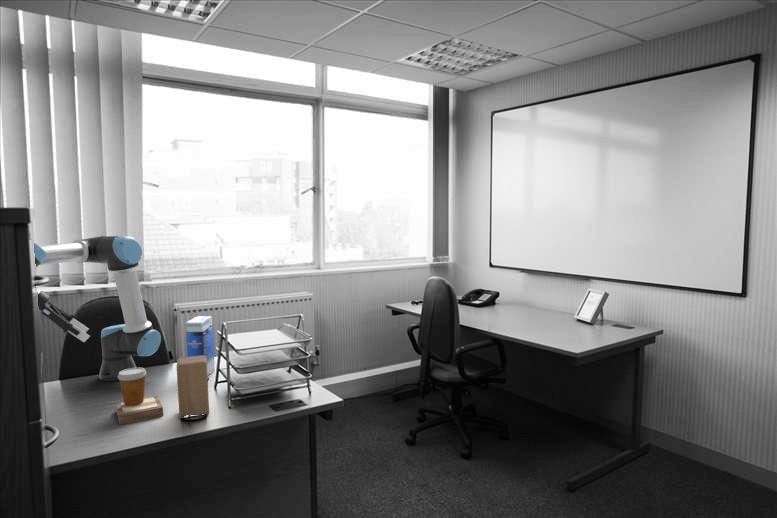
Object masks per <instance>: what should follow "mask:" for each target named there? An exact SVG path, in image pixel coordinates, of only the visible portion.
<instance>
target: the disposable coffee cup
mask: <svg viewBox="0 0 777 518" xmlns="http://www.w3.org/2000/svg"><path fill="white" fill-rule="evenodd" d="M146 377H147V371H146V369H145V368H144V367H137V368H129V369H125V370H122V371H120V372H119V375H118V378H119V380H118V381H119V384H120V389H121V393H122V399H123V402H124V404H125V405H126V406H133V405H138V404H141V403H142V402H143V401H144V398H145V386H146V385H145V384H146Z"/></svg>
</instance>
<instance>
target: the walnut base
mask: <svg viewBox="0 0 777 518" xmlns="http://www.w3.org/2000/svg"><path fill="white" fill-rule="evenodd" d="M115 405H116V406H115V409H116V411H115V412H116V415H117V418H118V422H119V423H118V424H119V425H125V424H130V423H134V422H138V421H142V420H147V419H148V420H149V419H152V417H153V418H157V417H162V416H164V407H163V405H162V403H161V400H160V399H159V396H158V395H155V396H149V397H144V401H143V402H142V403H141V404H138V405H133V406H126V405H125V404H124V401H122V402H118V403H115Z"/></svg>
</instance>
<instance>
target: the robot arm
mask: <svg viewBox="0 0 777 518" xmlns="http://www.w3.org/2000/svg"><path fill="white" fill-rule="evenodd" d="M33 243H34V253H35V264H36V268H37V267H39V266H44V265H45V266H46V265H54V264H62V263H69V262H70V263H72V262H76V263H78V264H83V263H92V264H93V263H94V264H105V265H107V269H108V271H109V272H111V273H112V274H113V278H114V282H115V286H116V290H117V294H118V298H119V303H120V307H121V311H122V316H123V321H124V323H123V324H115V325H111V326H108V327H104V328H102V330H101V331H100V342H101V343H100V344H101V353H102V354H101V355H102V363H101V366H100V369H99V370H100V371H99V373H98V374H99V376H98V377H99V378H98V379H99V380H100V381H103V382H115V381H120V380H119V378H118V375H119V372H120V371H122V370H125V369H129V368H138V367H137V366H136V364H135V363H136V362H135V361H134V359H133V356H139V357H150V356H152V355H153V354H155V353H156V352H157V351H158V349H159V347H160V345H161V342H162V339H161V338H162V337H161V333H160V331H158V330H157V329H153V328H154V327H153V324H152V322H151V321H150V320H148V318H147V314H146V308H145V305H144V300H143V297H142V292H141V286H140V282H139V278H138V273H137V268H138V267H139V262H140V261H141V259H142V256H143V250H142V245H141V243H140V242H139V241H138V240H137V239H135V238H134V237H132V236H128V235H127V236H126V235H109V236H108V235H107V236H105V235H101V236H94V237H90V238H83V239H75V240H74V241H72V242H69V243H68V242H66V243H64V242H63V243H52V244H42V245H41V244H40V245H39V244H38V243H35V242H33ZM49 300H51V296H50V294H48V293H47V292H45V291H42V290H40V288H39V287H38V306H39V310H40V311H41V315H43V316H44V317H46V318H47V319H49V320H50V321H51V322H52V323H54V324H55V325H57V326H58V327H59V328H60V329H62V330H63V333H65V334H66V333H69V334H71V335H72V336H73V337H75V338H76V339H78V340H80V341H81V342H83V343H85V342H87V340H88V339H89V338H90V337H91V335H89V334H88V333H87V332H88V331H89V330H90V328H88V327H87V326H86V325H85V324H83V323H82V322H80V321H78V320H77V319H75V318H74V317H75V315H73V314H69V313H67V312H66V311H64V310H62V309H61V308H59V307H57V306H56V305H55V304H53V303H51V302H50V301H49ZM39 310H38V311H39Z"/></svg>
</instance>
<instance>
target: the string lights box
mask: <svg viewBox="0 0 777 518" xmlns="http://www.w3.org/2000/svg"><path fill="white" fill-rule="evenodd" d="M213 329H214V328H213V316H212V315H207V316H206V315H204V316H203V315H202V316H201V315H198V316H195V317H193V318H192V319H190V320H188V321H186V322H185V335H186V354H187V355H186V357H192V356H201V355H204V356H206V359H207V376H208V375H209V374H210V375H211V374H212V373H213V372H214V371H215V370H216V369H215V368H216V367H215V352H214V349H215V347H214V332H213ZM210 375H209V376H210ZM209 376H208V377H209Z"/></svg>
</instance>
